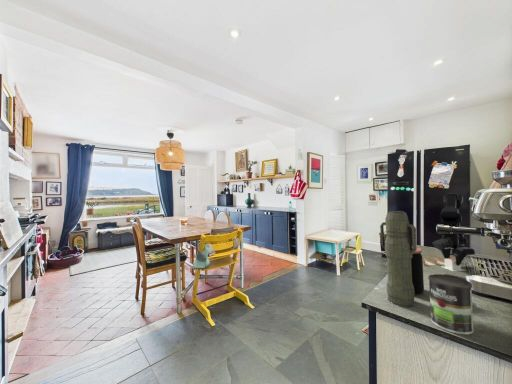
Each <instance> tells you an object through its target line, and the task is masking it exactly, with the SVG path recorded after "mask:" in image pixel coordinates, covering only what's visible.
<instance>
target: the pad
mask: <svg viewBox="0 0 512 384" xmlns="http://www.w3.org/2000/svg"><path fill="white" fill-rule="evenodd" d="M440 267H441V268H443V269H446V270H449V271H450V272H465V271H467V270H466V269H464V268H461V270H451V269H449V268H446V267H445V265H444V266H442V265H441V266H440Z"/></svg>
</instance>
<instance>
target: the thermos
mask: <svg viewBox="0 0 512 384" xmlns="http://www.w3.org/2000/svg"><path fill="white" fill-rule="evenodd" d="M409 221H410V220H409V217H408V214H407V212H405V211H404V210H390V211H388V212H387V213H386V217H385V221H384V222H382V223H381V224H380V226H379V228H380V245H381V248H382V249H383V250H384V253H385V256H386V265H387V266H386V267H387V270H386V271H387V282H386V293H387V301H388V300H389V301H390V302H389V301H388V302H389V303H391V302H392V303H393V305H394V304H395V305H394V306H397V305H398V307H402V308H412V307H414V306H415V298H416V297H415V296H416V295H415V293H414V286H413V284H412V268H411V259H412V253H413V252H415V251H416V250H417V228H416V226H415V225H414V224H411V223H410V222H409ZM384 226H385V228H384ZM410 229H411V236H410V235H409V233H410ZM384 230H385V231H386V235H385V231H384ZM410 237H412V238H411V239H410ZM412 246H413V248H412ZM392 303H391V304H392Z"/></svg>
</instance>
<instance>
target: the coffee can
mask: <svg viewBox="0 0 512 384" xmlns="http://www.w3.org/2000/svg"><path fill="white" fill-rule="evenodd" d="M427 279H428V284H429V289H428V290H429V300H430V301H429V303H430V304H429V306H430V307H429V308H430V309H429V310H430V318H429V319H430V322H431V323H433V324H434V325H435V326H436V327H437V328H439V329H441V330H444V331H447V332H449V333H453V334H456V335H457V334H458V335H472V334H473V333H474V317H473V315H474V314H473V312H474V311H473V296H472V295H473V293H472V292H473V291H472V288H473V285H472V283H471V282H470V281H468V280H466V279H464V278H462V277H458V276H454V275H451V274H450V275H448V274H443V273H442V274H440V273H437V274H436V273H435V274H429V276H428V277H427Z"/></svg>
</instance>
